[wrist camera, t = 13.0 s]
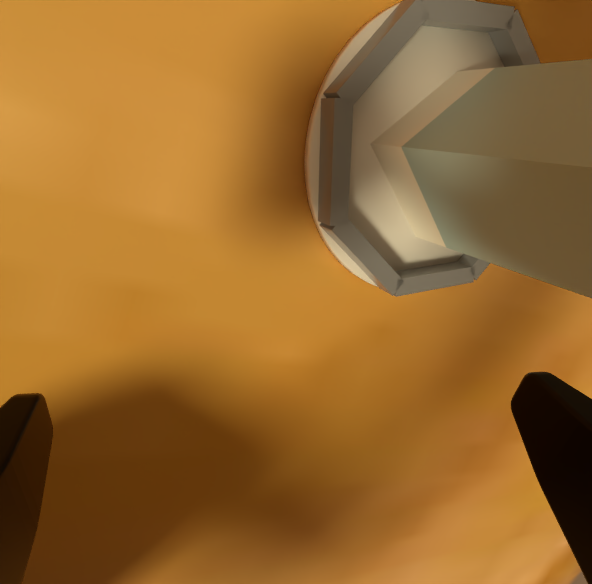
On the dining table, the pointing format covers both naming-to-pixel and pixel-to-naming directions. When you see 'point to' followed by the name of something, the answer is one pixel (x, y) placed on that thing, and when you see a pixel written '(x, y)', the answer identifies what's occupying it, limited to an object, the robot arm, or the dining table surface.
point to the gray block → (502, 168)
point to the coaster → (382, 115)
